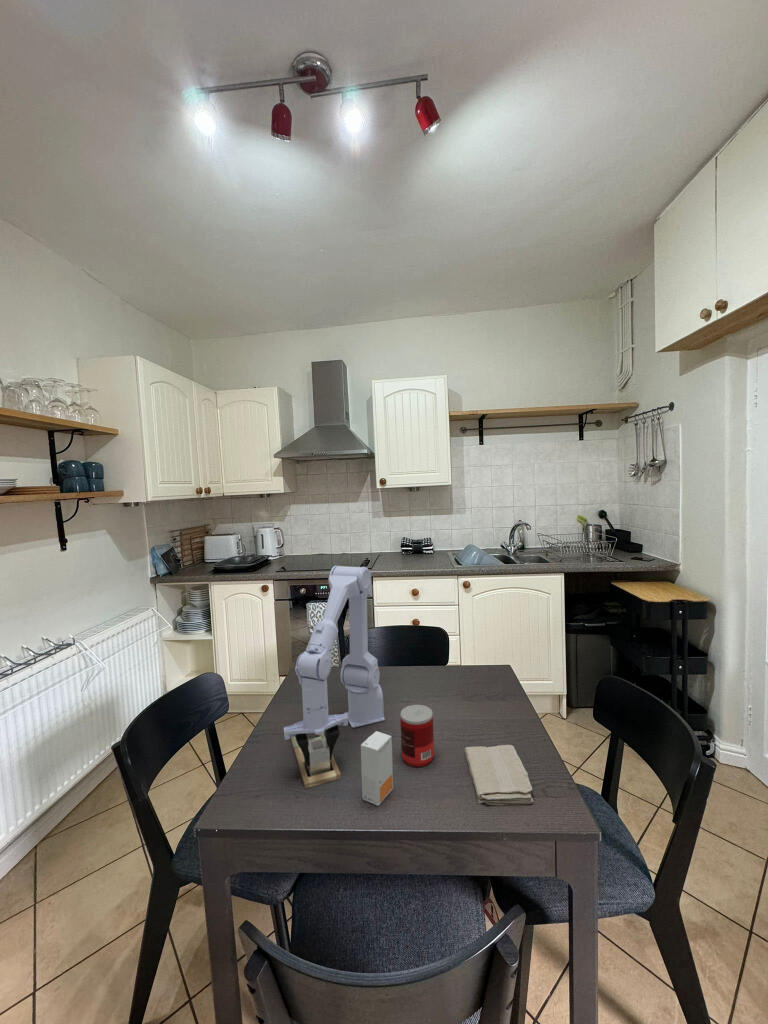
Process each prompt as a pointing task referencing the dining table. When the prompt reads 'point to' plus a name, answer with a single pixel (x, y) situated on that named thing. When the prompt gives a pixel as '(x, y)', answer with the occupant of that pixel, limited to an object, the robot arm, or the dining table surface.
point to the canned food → (417, 735)
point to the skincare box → (376, 767)
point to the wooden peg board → (320, 777)
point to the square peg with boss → (318, 757)
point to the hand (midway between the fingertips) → (318, 760)
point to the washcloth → (498, 775)
